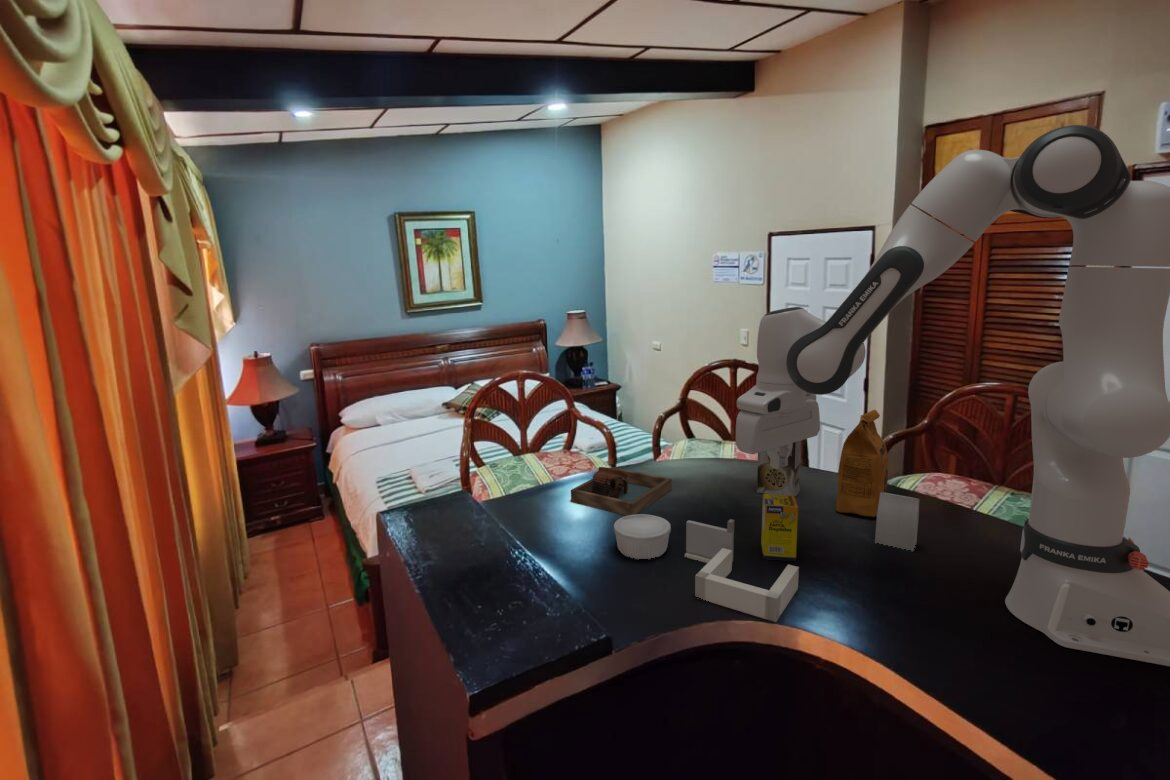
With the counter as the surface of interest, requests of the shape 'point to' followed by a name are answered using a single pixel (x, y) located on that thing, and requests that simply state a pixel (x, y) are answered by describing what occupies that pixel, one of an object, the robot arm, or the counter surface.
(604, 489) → the pottery mug
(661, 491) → the frame
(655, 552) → the ramekin
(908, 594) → the counter surface
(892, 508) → the grey rectangular block
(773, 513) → the supplement box
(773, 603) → the white handled frame
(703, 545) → the plate
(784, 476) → the coffee box
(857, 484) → the coffee package
